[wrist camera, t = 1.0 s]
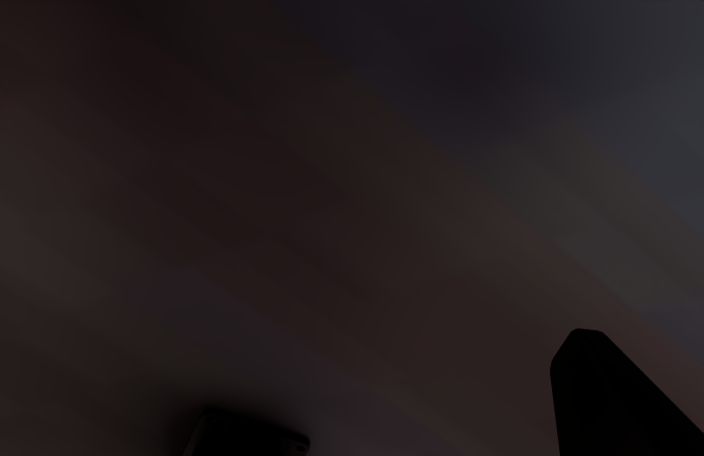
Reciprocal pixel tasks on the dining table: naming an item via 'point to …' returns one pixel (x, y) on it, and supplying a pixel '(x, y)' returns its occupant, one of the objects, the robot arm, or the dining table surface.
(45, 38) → the dining table surface
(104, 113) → the dining table surface
